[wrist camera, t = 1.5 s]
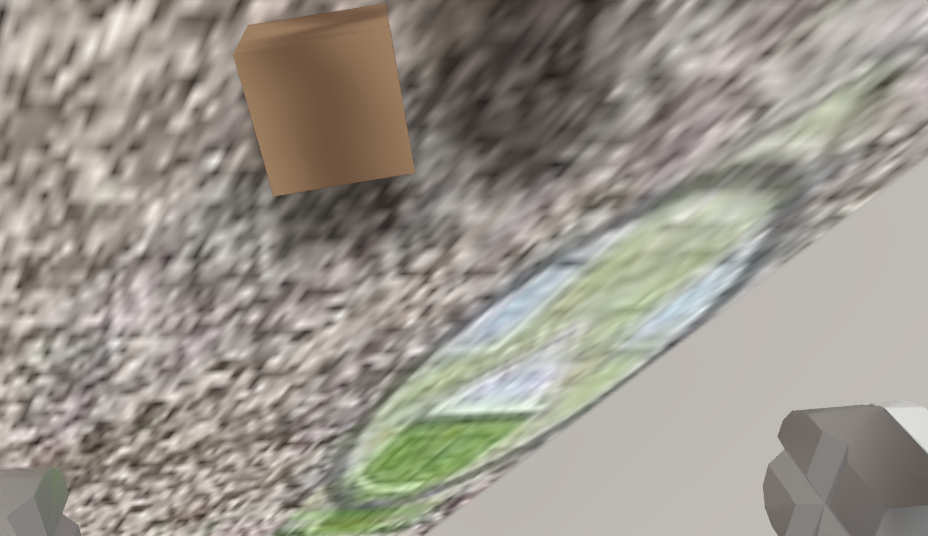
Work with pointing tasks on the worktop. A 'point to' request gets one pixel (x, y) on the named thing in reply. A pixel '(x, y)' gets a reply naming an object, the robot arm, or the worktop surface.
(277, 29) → the walnut block
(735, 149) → the worktop surface
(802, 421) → the robot arm
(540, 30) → the worktop surface
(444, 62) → the worktop surface
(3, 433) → the worktop surface
